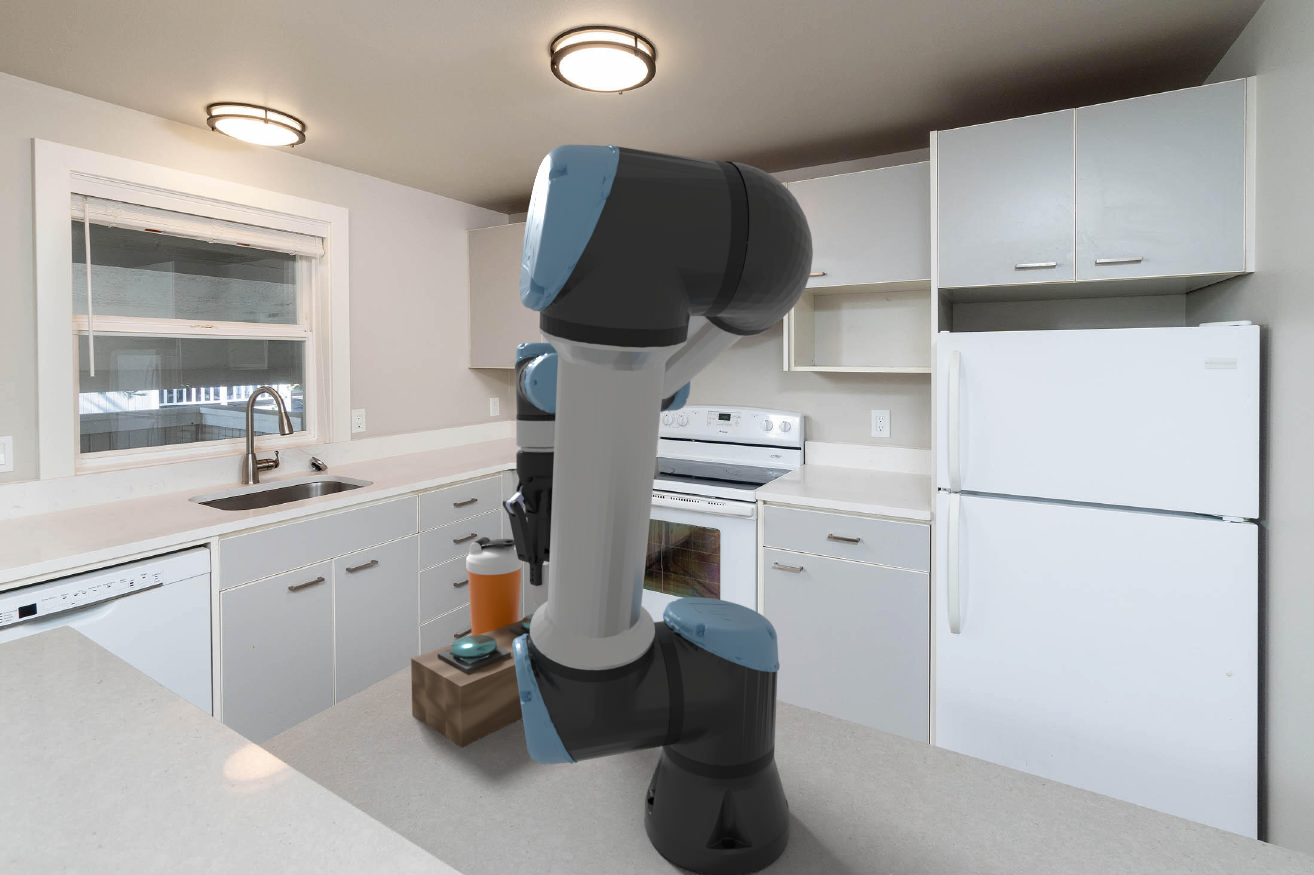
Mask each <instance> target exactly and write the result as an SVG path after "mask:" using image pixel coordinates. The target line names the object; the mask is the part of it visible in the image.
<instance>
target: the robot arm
mask: <svg viewBox="0 0 1314 875" xmlns="http://www.w3.org/2000/svg"><path fill="white" fill-rule="evenodd" d="M525 222H526V223H525V229H524V236H523V241H522V242H523V243H522V250H521V259H520V260H521V264H520V265H521V266H520V267H521V270H520V271H521V272H520V280H519V294H520V300H521V303H522V305H523V306H524V307H525V308H526V309H531V310H532V311H533V312H539V334H541V335H542V337H543V338H544V339H545V340H546V341H547V342H524V343H521V344H518V346H517V347H516V352H515V353H516V354H515V364H514V371H515V393H516V394H515V396H516V421H515V422H516V425H515V426H516V431H515V432H516V435H515V436H516V439H515V440H516V446H517V447H518V448H520V449H518V450H517V452H516V456H515V458H516V462H515V464H516V474H517V475H518V476H517V477H518V484H517V486H516V490H515V491H516V493H515V494H514V495H513V496H511V498H510V499H508V498H505V499H504V500H502V506H503V508H504V510H505V511H506V513H507V514H508V519H509V523H510V529H511V532H512V537H513V538H512V539H514V542H515V545H514V547H515V548H516V552H517V556H518V559H519V560H521V561H522V562H525V563H528V564H529V583H530V585H532V588H533V589H532V594H533V595H532V604H533V605H536V606H538V608H537V609H536V611H535V612H534V613H533V614H534V615H533V617H532V620H531V623H530V634H523V635H522V636H520V637H517V638H515V639H514V640H513V643H512V646H513V654H514V661H515V668H516V675H517V682H518V689H519V695H520V702H521V709H522V717H523V718H522V723H523V730H524V738H525V744H526V750H527V753H528V756H529V757H530V759H532V760H533V761H534V762H536V763H537V764H540V765H544V766H545V765H553V764H567V763H569V764H574V763H575V764H577V763H578V762H582V761H589V760H592V759H593V760H594V759H599V758H604V757H611V756H614V755H615V756H616V755H621V754H627V753H633V752H638V751H639V752H640V751H643V750H644V751H645V750H649V749H655V748H660V747H661V748H662V749H661V752H660V755H659V758H658V760H657V764H656V766H655V769H654V771H653V774H652V776H651V780H650V783H649V785H648V788H647V791H646V795H645V801H644V802H645V803H644V828H645V831H646V835H647V837H648V838H649V841H650V842H651V844H652V845H653V846H654V848H656V850H657V851H658V852H659V853H660V854H661V855H662V856H664V857H665V858H666V859H668V860H669V861H670V862H671V863H673V864H675V865H677V866H679V867H681V868H683V869H686V870H689V871H691V872H694V873H698V874H701V875H702V874H703V875H747V874H751V873H753V872H757V871H759V870H762V869H764V868H766V867H768V866H769V865H771V864H773V862H775V861H776V860H777V859H778V858H779V857H780V856H781V854H783V852H784V850H785V849H786V848H787V843H788V841H789V835H790V808H789V804H788V800H787V798H786V795H785V792H784V791H785V790H784V787H783V784H782V781H781V777H780V774H779V773H780V772H779V769H778V766H777V763H776V760H775V749H776V748H775V746H776V745H775V744H776V740H775V739H776V723H777V722H776V720H777V719H776V718H777V692H778V691H777V690H778V671H779V670H780V661H779V647H778V645H779V644H778V634H777V632H776V629H775V627H774V626H773V624H772V623H771V621H770V620H769V619H768V618H767V617H765V616H764V615H762V614H761V613H760V612H758V611H756V610H754V609H752V608H749V607H747V606H744V605H741V604H739V603H735V602H732V601H727V600H722V599H718V598H710V597H697V596H696V597H693V596H691V597H682V598H677V599H676V600H672V601H670V602H669V603H667V605H666V607H665V608H664V611H663V613H662V618H663V620H661V621H654V620H653V617H652V615H651V614H650V612H649V611H648V610H647V609H646V608H645V607H644V606H643V605H642V603H643V593H644V581H645V574H646V564H647V563H646V562H647V553H648V543H649V531H650V522H651V512H652V501H653V493H654V492H653V491H654V490H653V489H654V482H655V481H654V480H655V472H656V471H655V469H656V460H657V452H658V450H657V449H658V442H659V441H658V440H659V430H660V421H661V413H663V412H667V411H668V412H671V411H672V412H673V411H679V410H681V409H683V408H684V407H685V405H686V404H687V399H689V396H690V392H691V391H690V390H691V380H693V379H694V378H695V377H696V376H698V374H700V373H702V371H703V370H705V369H706V368H707V367H708V366H710V365H711V364H712V363H713V362H714V361H715V360H717V359H718V358H719V357H720V356H722V355H723V354H724V353H725V352H726V351H727V350H728V349H730V348H731V347H732V346H733V345H735V344H736V343H737V342H738V341H740V339H741V338H743V337H744V338H746V337H748V338H749V337H754V336H758V335H761V334H763V333H765V332H766V331H768V330H770V328H771V329H772V327H773V326H775V324H777V323H779V321H781V320H782V319H783V318H784V317H785V316H786V315H787V314H789V312H790V311H791V310H793V308H794V307H795V306H796V304H797V303H798V301H799V300H800V298H801V296H802V294H803V293H804V291H805V290H806V288H807V285H808V281H809V279H810V276H811V274H812V264H813V255H814V250H813V249H814V248H813V239H812V238H813V237H812V232H811V230H810V225H809V223H808V220H807V216H806V215H805V212H804V210H803V209H802V207H801V206H800V203H799V202H798V200H797V198H796V197H795V196H794V195H793V193H792V192H791V191H790V190H789V189H788V188H787V187H786V185H784V184H783V182H781V181H780V180H779V179H778V178H776V177H774V176H773V175H771V174H770V173H768V172H766V171H764V170H762V169H760V168H758V167H755V166H752V165H749V164H747V163H742V162H734V161H717V160H712V159H703V158H696V157H690V156H684V155H676V154H670V153H663V152H656V151H649V150H645V149H643V150H642V149H636V148H630V147H624V146H623V147H622V146H617V145H616V146H615V145H612V144H608V145H595V144H594V145H591V144H564V145H563V144H562V145H559V146H557V147H555V148H553V149H552V150H550V151H549V152H548V154H547V155H546V156H545V157H544V159H543V160H542V162H541V164H540V166H539V168H538V172H537V174H536V178H535V181H534V185H533V189H532V192H531V198H530V202H529V206H528V210H527V216H526V221H525Z"/></svg>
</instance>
